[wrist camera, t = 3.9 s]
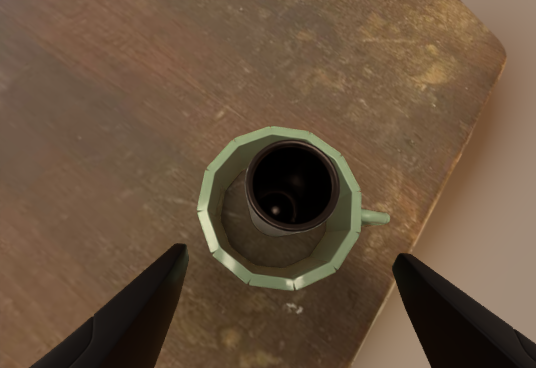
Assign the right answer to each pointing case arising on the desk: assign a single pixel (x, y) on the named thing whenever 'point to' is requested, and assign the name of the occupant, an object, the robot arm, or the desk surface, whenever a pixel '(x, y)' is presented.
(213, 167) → the mug
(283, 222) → the grey hollow cylinder
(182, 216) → the desk surface
